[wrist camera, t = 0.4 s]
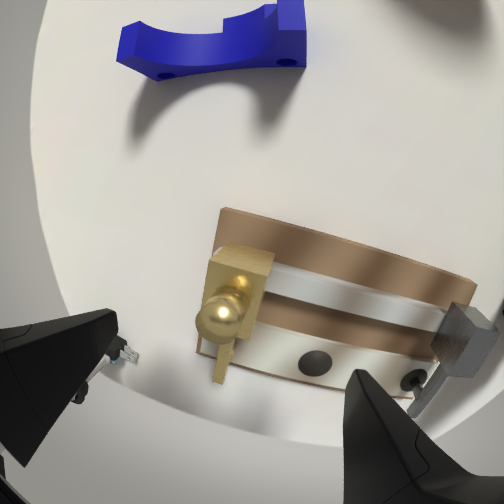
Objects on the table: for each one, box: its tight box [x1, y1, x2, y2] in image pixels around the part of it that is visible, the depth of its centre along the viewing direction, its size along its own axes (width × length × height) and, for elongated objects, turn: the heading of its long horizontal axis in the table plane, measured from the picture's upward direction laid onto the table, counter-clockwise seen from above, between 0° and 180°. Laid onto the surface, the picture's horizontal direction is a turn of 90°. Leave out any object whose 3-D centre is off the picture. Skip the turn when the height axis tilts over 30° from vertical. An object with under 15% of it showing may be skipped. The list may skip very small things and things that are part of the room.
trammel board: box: [196, 207, 477, 399], centre depth 19 cm, size 22×13×3 cm, turn 77°
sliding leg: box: [195, 241, 275, 385], centre depth 16 cm, size 3×10×7 cm, turn 167°
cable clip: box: [116, 0, 307, 82], centre depth 14 cm, size 12×4×6 cm, turn 89°
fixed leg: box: [407, 301, 500, 418], centre depth 16 cm, size 3×10×5 cm, turn 167°
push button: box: [71, 335, 137, 404], centre depth 22 cm, size 7×5×10 cm
